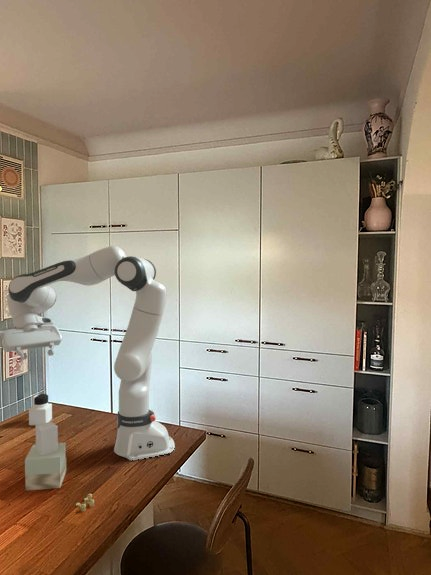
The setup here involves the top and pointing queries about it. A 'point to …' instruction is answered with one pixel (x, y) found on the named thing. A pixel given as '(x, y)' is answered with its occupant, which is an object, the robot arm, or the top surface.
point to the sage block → (45, 461)
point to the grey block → (46, 438)
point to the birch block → (45, 480)
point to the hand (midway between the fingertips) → (38, 356)
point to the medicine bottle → (40, 410)
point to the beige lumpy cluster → (86, 502)
